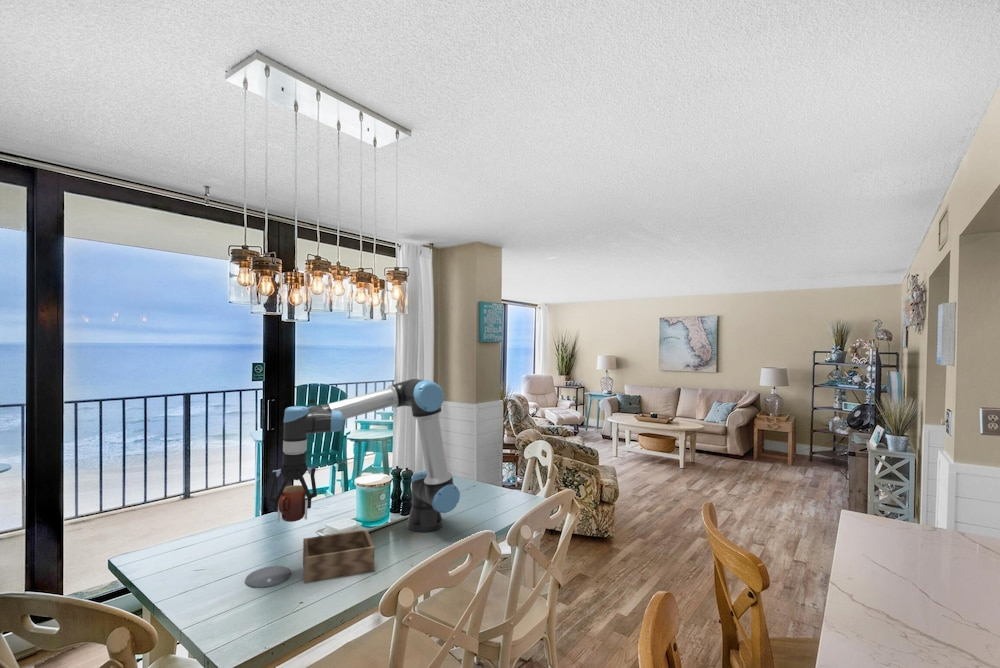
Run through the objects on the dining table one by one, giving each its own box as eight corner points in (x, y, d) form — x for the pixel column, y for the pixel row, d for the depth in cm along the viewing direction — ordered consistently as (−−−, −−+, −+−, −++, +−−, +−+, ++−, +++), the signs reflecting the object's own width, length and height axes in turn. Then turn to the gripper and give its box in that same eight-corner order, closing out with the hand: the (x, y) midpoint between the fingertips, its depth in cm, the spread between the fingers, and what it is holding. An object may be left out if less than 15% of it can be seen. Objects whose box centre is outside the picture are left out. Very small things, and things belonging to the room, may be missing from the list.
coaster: (291, 564, 170) (291, 563, 170) (291, 582, 157) (291, 581, 157) (246, 572, 164) (247, 570, 164) (243, 591, 152) (243, 589, 152)
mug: (289, 513, 170) (290, 484, 170) (311, 515, 169) (312, 486, 169) (267, 525, 158) (268, 494, 159) (291, 528, 157) (292, 496, 157)
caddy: (366, 550, 182) (367, 529, 182) (374, 570, 166) (374, 547, 166) (303, 560, 173) (303, 538, 173) (304, 583, 157) (304, 558, 157)
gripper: (325, 448, 172) (323, 512, 171) (261, 452, 164) (259, 519, 163) (327, 452, 165) (325, 519, 164) (260, 456, 157) (258, 527, 156)
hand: (292, 519), depth 164 cm, fingers closed on mug, 8 cm apart
